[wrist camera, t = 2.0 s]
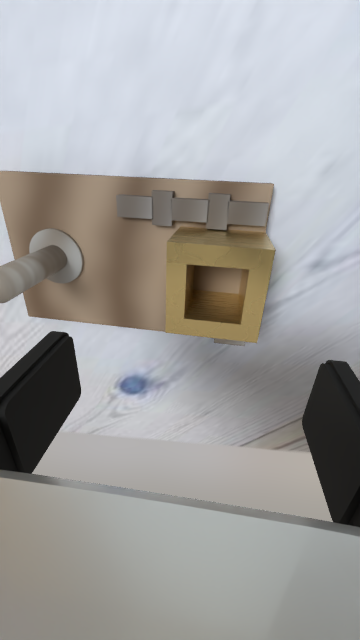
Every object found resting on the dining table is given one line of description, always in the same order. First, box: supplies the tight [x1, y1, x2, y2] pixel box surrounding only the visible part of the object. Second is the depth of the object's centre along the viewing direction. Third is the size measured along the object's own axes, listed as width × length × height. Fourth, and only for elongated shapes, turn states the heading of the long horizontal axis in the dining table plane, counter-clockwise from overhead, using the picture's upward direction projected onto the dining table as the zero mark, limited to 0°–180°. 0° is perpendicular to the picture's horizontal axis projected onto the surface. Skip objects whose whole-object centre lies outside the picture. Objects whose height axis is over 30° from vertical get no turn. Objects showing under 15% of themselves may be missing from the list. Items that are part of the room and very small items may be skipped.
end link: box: [166, 226, 275, 343], centre depth 19 cm, size 6×6×5 cm
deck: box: [0, 171, 274, 346], centre depth 20 cm, size 20×12×8 cm, turn 88°
